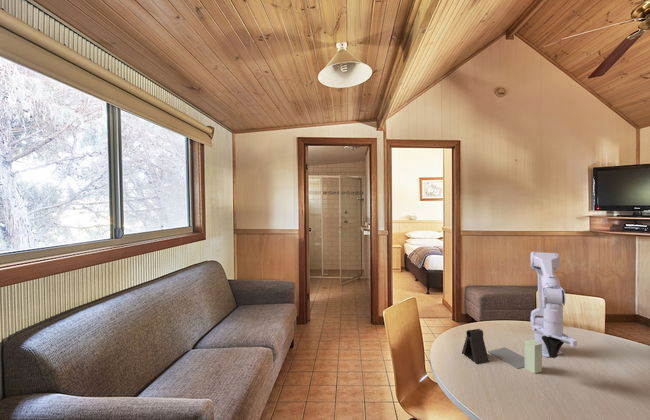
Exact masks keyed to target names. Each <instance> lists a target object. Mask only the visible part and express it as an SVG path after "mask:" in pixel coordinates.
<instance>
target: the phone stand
mask: <svg viewBox="0 0 650 420" xmlns="http://www.w3.org/2000/svg"><path fill="white" fill-rule="evenodd" d="M465 332H466V335H465V341H464V345H463V347H462V350H461V354H462V355H463V354H464V355H463V356H465V357H466V358H467V357H468V358H467V359H469V360H470V359H471V360H470V361H472V363H474V362H475V363H474V364H475V365H477V364H483V363H489V362H490V361H489V355H488V351H487V347H486V344H485V340H484V331H483V330H482V329H481V328H475V329H468V330H466V331H465Z"/></svg>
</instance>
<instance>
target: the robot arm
mask: <svg viewBox="0 0 650 420" xmlns="http://www.w3.org/2000/svg"><path fill="white" fill-rule="evenodd" d="M529 256H530V257H529V258H530V268H531V270H533V271H535V272H536V276H537V305H538V306H537V308H535V309H533V310H531V312H530V328H531V330H532V331H533V334H534V339H533V340H535V341H537V342H539V343H541V344H542V356H543V357H546V358H552V359H556V358H558V355H562V354H563V351H561V347H562V346H563V345H564V344H568V345H570V347H573V348H574V347H578V340H576V339H574V338H572V337H570V336H568V334H566V333H564V306H565V304H566V294H565V289H564V288H563V287H561V283H560V279H559V277H558V276H557V275H556V274H555V272H557V270H558V269H559V267H560V262H561V261H560V254H558V252H540V251H531V252H530V255H529Z"/></svg>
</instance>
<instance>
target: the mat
mask: <svg viewBox="0 0 650 420" xmlns="http://www.w3.org/2000/svg"><path fill="white" fill-rule="evenodd" d="M487 353H489V354H491V355H492V356H493V357H497V358H498V359H500V360H502V361H503V362H505V363H507V364H509V365H510V366H512V367H514V368H515V369H523V368H525V356H523V355H521V354H519V353H517V352H515V351H513V350H511V349H509V348H507V347H505V346H504V347H501V348H497V349H492V350H488V351H487Z"/></svg>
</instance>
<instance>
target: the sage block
mask: <svg viewBox="0 0 650 420" xmlns="http://www.w3.org/2000/svg"><path fill="white" fill-rule="evenodd" d="M524 357H525V367H524V369H525V370H527V371H529V372H531V373H533V374H537V373H542V372H543V355H542V344H541V343H539V342H537V341H535V340H534V339H527V340H524Z"/></svg>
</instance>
